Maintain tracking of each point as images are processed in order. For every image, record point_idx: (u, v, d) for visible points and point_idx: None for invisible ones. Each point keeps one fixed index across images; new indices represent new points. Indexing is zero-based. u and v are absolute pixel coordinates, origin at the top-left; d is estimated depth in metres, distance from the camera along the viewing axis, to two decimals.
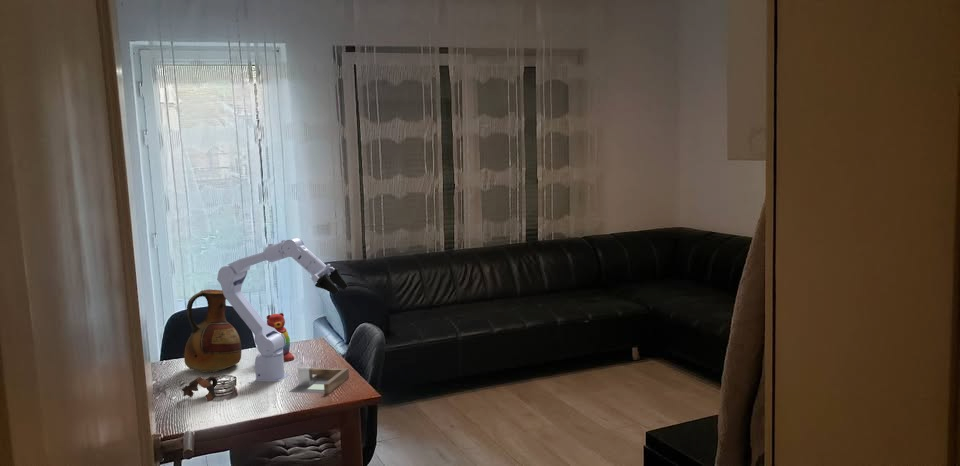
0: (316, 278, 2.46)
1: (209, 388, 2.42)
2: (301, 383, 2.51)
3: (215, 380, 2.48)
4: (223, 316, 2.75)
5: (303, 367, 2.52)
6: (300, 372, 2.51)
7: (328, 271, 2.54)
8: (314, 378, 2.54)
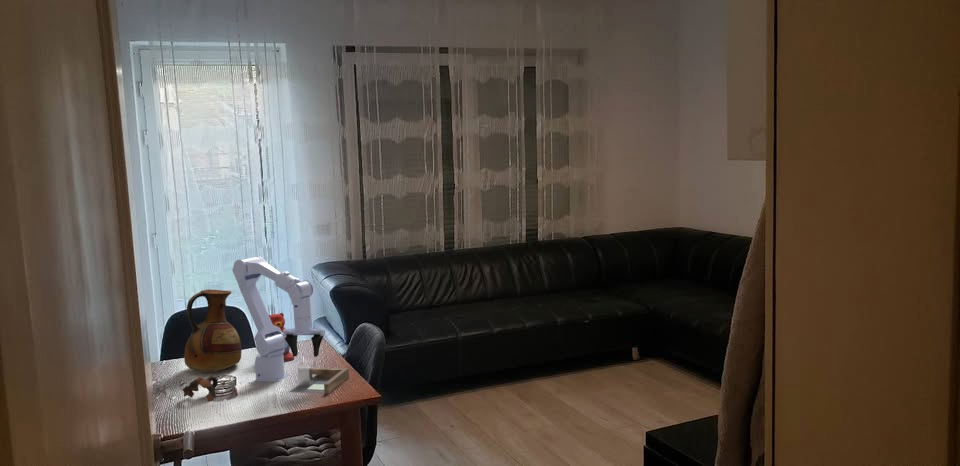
0: None
1: (210, 388, 2.41)
2: (301, 383, 2.51)
3: (216, 380, 2.47)
4: (223, 316, 2.75)
5: (303, 367, 2.52)
6: (300, 372, 2.51)
7: (308, 333, 2.50)
8: (314, 378, 2.54)
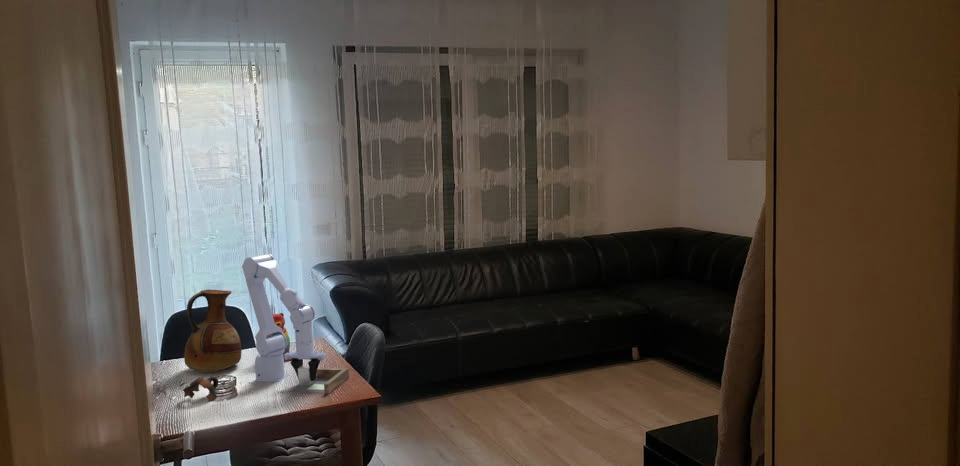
0: None
1: (210, 388, 2.41)
2: (301, 383, 2.51)
3: (216, 380, 2.47)
4: (223, 316, 2.75)
5: (303, 367, 2.52)
6: (300, 372, 2.51)
7: (310, 357, 2.51)
8: None
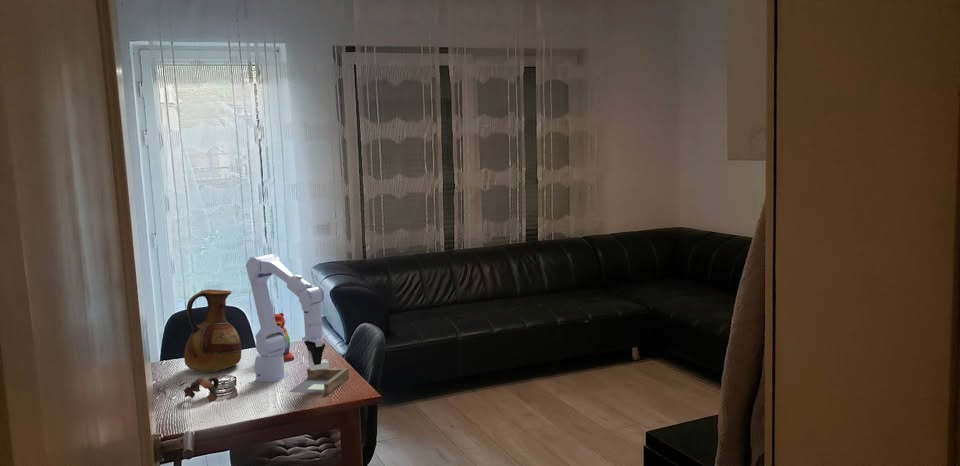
0: None
1: (211, 389, 2.41)
2: (309, 366, 2.48)
3: (217, 380, 2.47)
4: (223, 316, 2.75)
5: None
6: (308, 354, 2.48)
7: None
8: (322, 365, 2.47)
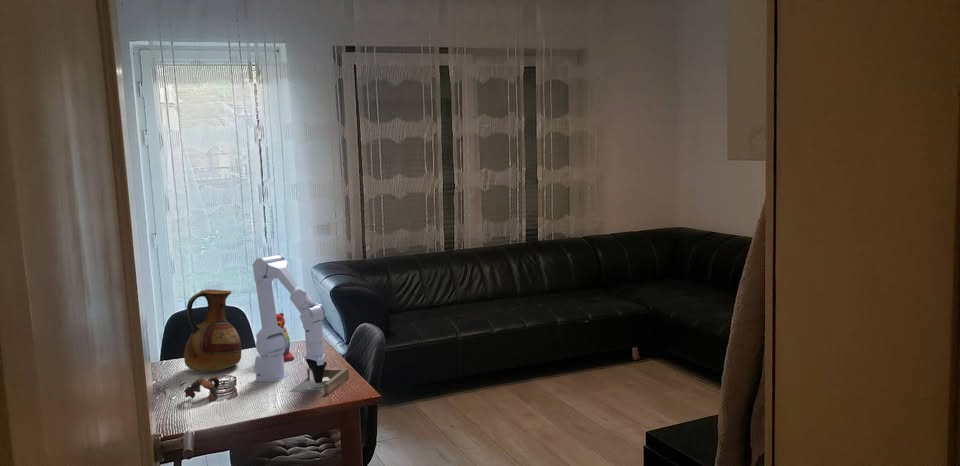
0: None
1: (211, 389, 2.41)
2: (310, 384, 2.49)
3: (217, 381, 2.47)
4: (223, 316, 2.75)
5: None
6: (310, 372, 2.48)
7: None
8: (324, 383, 2.48)
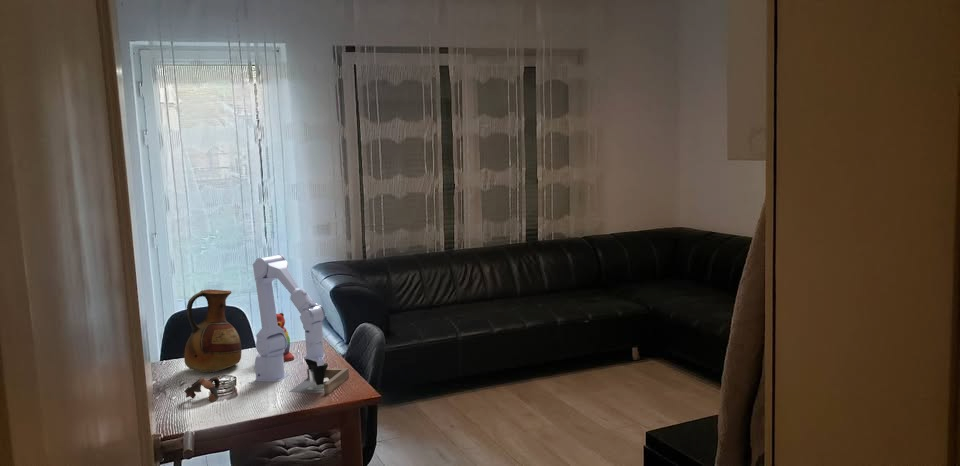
0: None
1: (212, 389, 2.40)
2: (310, 384, 2.49)
3: (218, 381, 2.46)
4: (223, 316, 2.75)
5: None
6: (309, 373, 2.48)
7: None
8: (323, 383, 2.48)
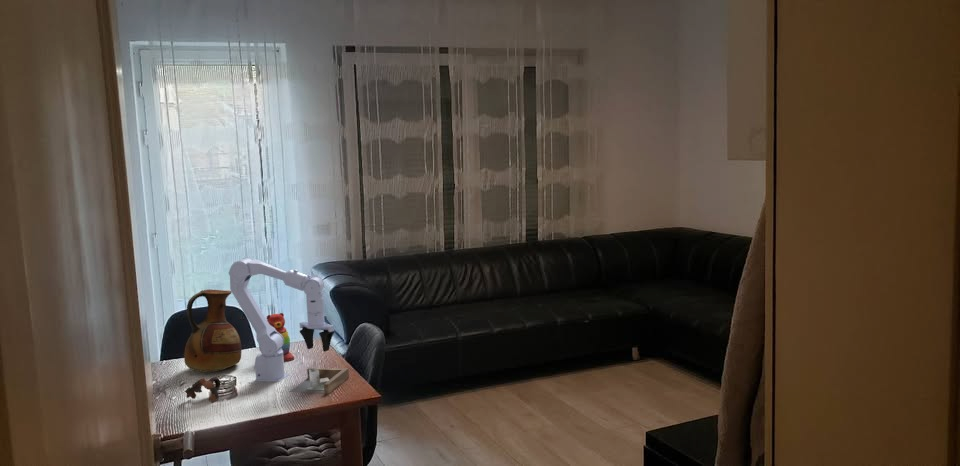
0: None
1: (213, 389, 2.40)
2: (310, 384, 2.49)
3: (218, 381, 2.46)
4: (223, 316, 2.75)
5: (313, 369, 2.48)
6: (309, 373, 2.48)
7: (319, 328, 2.57)
8: (323, 383, 2.48)
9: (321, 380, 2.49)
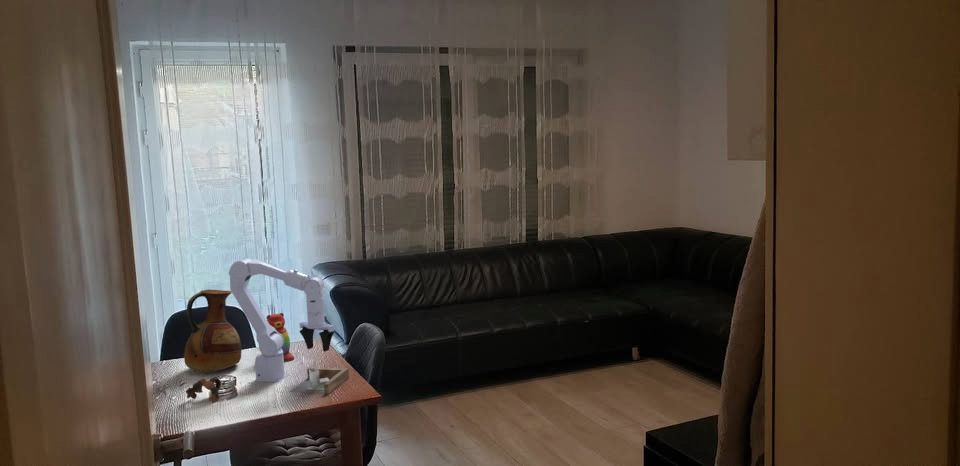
0: None
1: (213, 390, 2.40)
2: (310, 384, 2.49)
3: (219, 381, 2.46)
4: (223, 316, 2.75)
5: (313, 369, 2.48)
6: (309, 373, 2.48)
7: (319, 328, 2.57)
8: (323, 383, 2.48)
9: (321, 380, 2.49)
